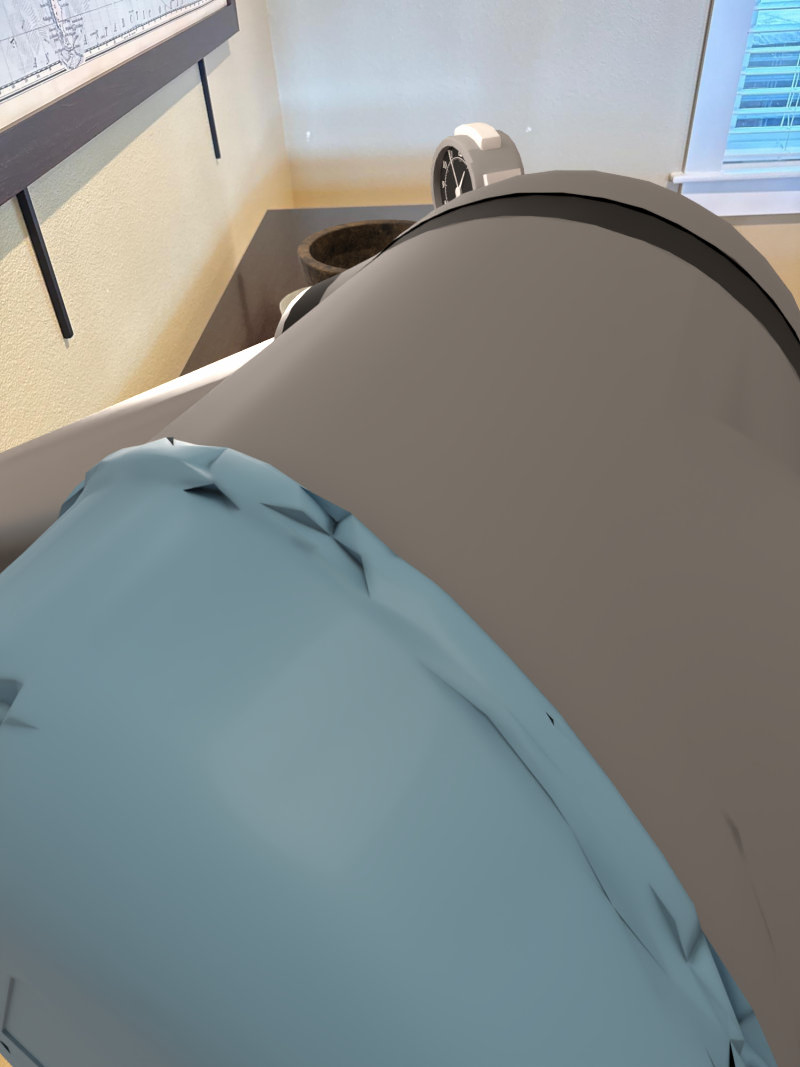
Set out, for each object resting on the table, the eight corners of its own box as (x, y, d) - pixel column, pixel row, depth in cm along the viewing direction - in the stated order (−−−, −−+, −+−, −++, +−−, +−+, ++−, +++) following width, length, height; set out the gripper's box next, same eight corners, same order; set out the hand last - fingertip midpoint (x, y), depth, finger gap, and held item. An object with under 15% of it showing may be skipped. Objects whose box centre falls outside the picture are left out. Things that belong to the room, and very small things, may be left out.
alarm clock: (427, 249, 132) (425, 118, 119) (471, 240, 135) (473, 110, 122) (479, 284, 119) (483, 140, 107) (526, 273, 122) (535, 132, 109)
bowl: (459, 345, 103) (459, 271, 97) (297, 350, 104) (287, 277, 98) (453, 282, 120) (453, 216, 114) (313, 287, 121) (306, 222, 115)
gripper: (-14, 657, 56) (246, 540, 66) (106, 940, 41) (426, 732, 50) (-56, 581, 52) (230, 467, 61) (61, 868, 36) (424, 654, 45)
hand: (319, 586), depth 55 cm, fingers open, 13 cm apart
